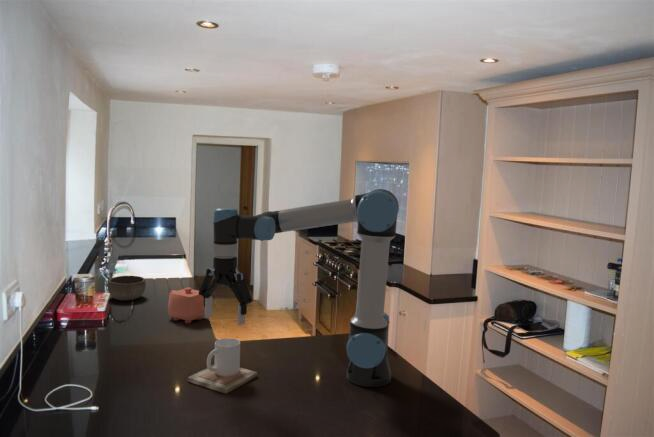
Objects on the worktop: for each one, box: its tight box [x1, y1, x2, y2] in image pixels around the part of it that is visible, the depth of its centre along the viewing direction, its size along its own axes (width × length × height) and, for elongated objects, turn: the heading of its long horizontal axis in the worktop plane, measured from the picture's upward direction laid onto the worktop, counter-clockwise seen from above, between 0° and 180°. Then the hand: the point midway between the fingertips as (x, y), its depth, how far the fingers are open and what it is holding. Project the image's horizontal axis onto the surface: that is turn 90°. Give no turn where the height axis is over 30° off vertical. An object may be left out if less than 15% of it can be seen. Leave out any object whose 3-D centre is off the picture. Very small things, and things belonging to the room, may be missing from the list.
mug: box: [206, 337, 241, 377], centre depth 174 cm, size 12×8×10 cm
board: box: [187, 364, 258, 394], centre depth 174 cm, size 16×16×2 cm
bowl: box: [107, 275, 147, 302], centre depth 264 cm, size 17×18×10 cm
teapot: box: [167, 287, 205, 324], centre depth 235 cm, size 22×13×14 cm, turn 61°
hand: (224, 320), depth 172 cm, fingers open, 13 cm apart
